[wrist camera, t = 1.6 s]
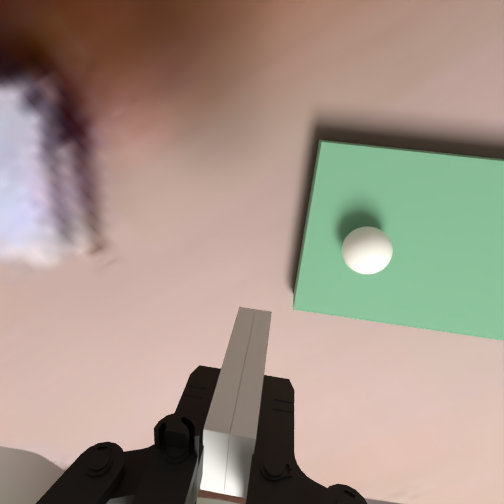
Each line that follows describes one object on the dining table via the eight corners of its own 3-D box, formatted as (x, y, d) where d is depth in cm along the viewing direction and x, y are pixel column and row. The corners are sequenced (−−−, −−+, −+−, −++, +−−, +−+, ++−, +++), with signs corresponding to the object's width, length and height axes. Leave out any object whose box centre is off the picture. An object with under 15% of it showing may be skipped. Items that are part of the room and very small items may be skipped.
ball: (344, 217, 28) (351, 232, 25) (390, 223, 28) (405, 239, 24) (335, 259, 30) (340, 279, 26) (379, 265, 30) (391, 286, 26)
